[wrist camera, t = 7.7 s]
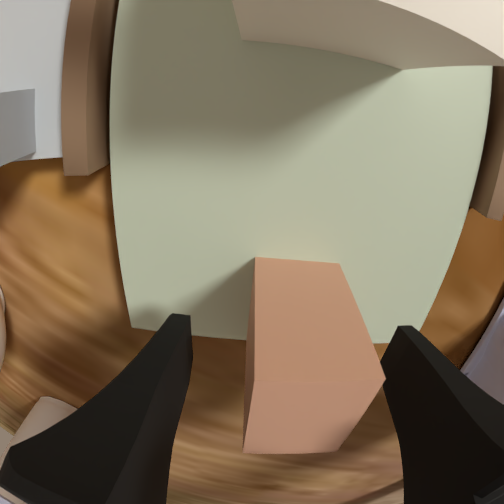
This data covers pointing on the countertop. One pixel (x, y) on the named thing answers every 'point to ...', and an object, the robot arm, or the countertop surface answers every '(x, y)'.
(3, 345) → the lidded jar
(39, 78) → the grey l-shaped bracket
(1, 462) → the foam cup
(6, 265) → the countertop surface
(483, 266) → the countertop surface
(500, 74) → the lane rails
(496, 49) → the cream cube
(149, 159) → the green flat panel
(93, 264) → the countertop surface
